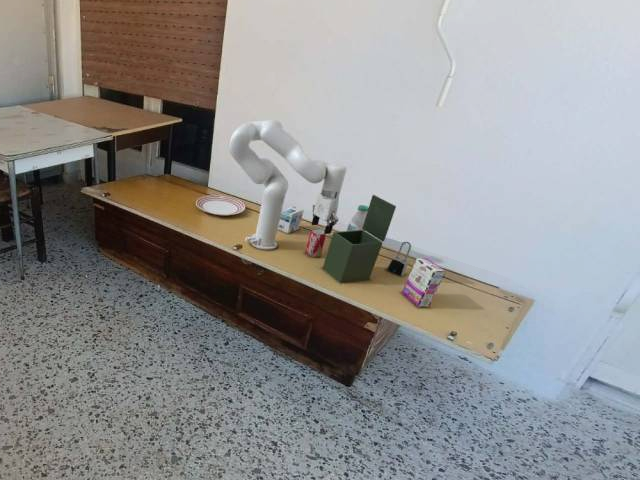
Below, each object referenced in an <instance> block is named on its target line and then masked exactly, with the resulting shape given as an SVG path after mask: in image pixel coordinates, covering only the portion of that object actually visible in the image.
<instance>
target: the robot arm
mask: <svg viewBox="0 0 640 480" xmlns="http://www.w3.org/2000/svg"><path fill="white" fill-rule="evenodd" d="M253 141H254V142H255V141H256V142H257V141H262V142H263V143H265V145H267V146H268V147H270V148H271V149H272V150H273V151H274V152H276V153H277V154H279V155H280V156H281V157H282V158H283V159H284V160H285V162H287V164H289V165H290V167H291V168H292V169H293V171H295V172H296V173H297V174H299V175H300V176H301V177H302V178H303V179H304V180H306V181H307V182H308V183H311V184H320V183H321V182H323V184H322V187H321V190H320V191H321V192H320V193H319V195H318V197H317V199H316V202H315V204H313V205H312V220H311V226H318V225H319V223H320V219H321V220H322V221H325V222H326V224H327V225H325V228H324V234H325V235H329V234H331V233H332V231H333V228H334V226H335V225H337V224H338V222H339V217H338V215H337V214H338V208H339V198H340V195H341V191H342V188H343V184H344V180H345V178H346V177H345V176H346V173H347V167H346V165H344V164H342V163H331V162H328V161H324V160H320V159H318V160H312V159H311V158H310V157H309V156H308V155H307V154H306V152H305V151H304V149H303V147H302V145H301V143H300V142H299V141H298V140H297V139H296V138H294V137H293V136H292V135H290V134H289V133H288V132H287V131H286V130H284V129H283V125H282V123H281V122H280V121H279V120H278V119H277V120H276V119H266V120H255V121H248V122H244V123H242V124H241V125H239V126H238V127H237V128H236V129H235V130H234V131H233V133H232V135H231V137H230V140H229V145H228V146H229V153H230V155H231V157H232V158H233V159H234V161H235V162H236V163H237V164H238V166H240V168H241V169H242V170H243V171H244V173H245V174H246V175H247V176H248V177H249V178H250V180H251V181H252V182H253V183H255V184H256V185H263V186H264V189H263V193H262V197H261V205H260V209H259V215H258V219H257V225H256V229H255V233H253V234H252V236H245V239H244V240H245V242H250V245H252V247H255V248H256V249H259V250H263V251H270V250H271V251H272V250H275V249H276V248H277V247H278V242H277V241H276V238H277V234H278V225H279V221H280V216H281V212H282V210H283V207H284V202H285V200H286V199H285V198H286V195H287V192H288V189H289V180H288V179H287V178H286V177H285V175H284V174H283V173H282V172H281V171H280V169H279V168H278V167H277V166H276V165H275V164H274V162H272V161H271V159H268V158H260V157H259V155H258V154H257V153H256V152H255V150H253V149H252V148H251V147H250V143H252V142H253Z"/></svg>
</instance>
